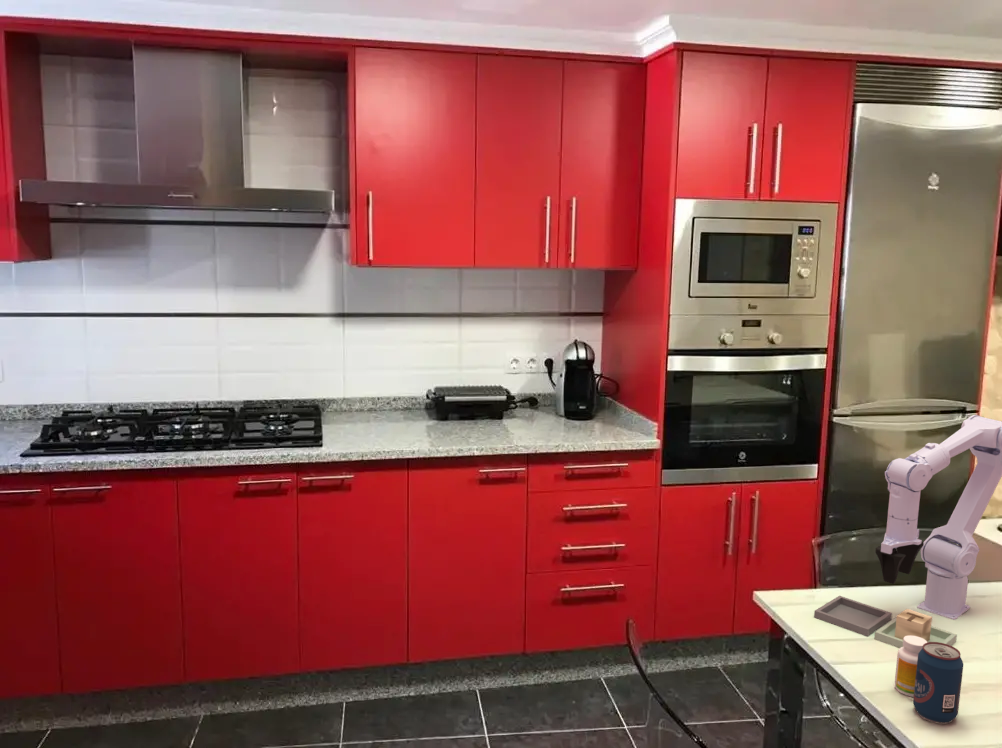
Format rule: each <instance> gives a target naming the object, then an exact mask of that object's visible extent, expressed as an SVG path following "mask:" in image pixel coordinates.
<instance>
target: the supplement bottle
mask: <svg viewBox="0 0 1002 748" xmlns="http://www.w3.org/2000/svg"><path fill="white" fill-rule="evenodd" d="M925 643H927V641H926V640H925V639H923V638H921V637H917V636H911V635H910V636H905V637H904V638H903V647H901V648H899V649H898V651H897V657H896V665H895V666H896V667H895V677H894V688H895V690H896V691H898V692H899V693H901V694H902V695H904V696H907V697H911V698H912V697H913V698H914V689H915V679H916V670H917V660H918V653H919V652H920V651H921V649H922V648H923V645H924V644H925Z"/></svg>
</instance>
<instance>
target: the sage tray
mask: <svg viewBox="0 0 1002 748" xmlns="http://www.w3.org/2000/svg"><path fill="white" fill-rule="evenodd" d="M896 619H897V616H895V617H894V618H892V619H891V620H890V621H889V622H887V623H886V624H885V625H883V626H882V627H880V628H879V629H878V630H876V631H875V632H874V637H873V638H874V640H875V641H879V642H881V643H885V644H888V645H890V646H892V647H896V648H899V649H900V648H901V647H903V640H902V639H899V638H896V637H895V629H896ZM957 636H958V634H956V633H954V632H950V631H947V630H945V629H941V628H938V627H936V626H933V625H931V632H930V640H929V641H928V642H939V643H944V644H948V645H950V646H952V647H953V645H954V644H956V642H957Z"/></svg>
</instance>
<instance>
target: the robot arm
mask: <svg viewBox="0 0 1002 748" xmlns="http://www.w3.org/2000/svg"><path fill="white" fill-rule="evenodd" d="M967 450H970V452H971V454H972V455H973V456H974V457H976V461H977V462H976V463H977V464H976V465H975V467H974V469H973V471H972V473H971V475H970V477H969V480H968V482H967V483H966V486H965V487H964V489H963V491H962V494H961V495H960V497H959V499H958V501H957V503H956V506H955V508H954V509H953V511H952V514H951V515H950V517H949V519H948V521H947V523H946V524H944V525H941V526H940V527H939V526H938V527H936V528H935V527H934V528H933V530H932V531H931V533H930V535H929V536H928V537H927V538H926V539H925V540H924V541H922V539H920V538H919V537H920V529H919V528H918V520H919V510H920V499H921V491H922V490H924V489H925V488H926V487H927V485H928V483H929V481H930V480H931V479H932V478H933V476H934V475H936V474H938V473H939V472H940V471H943V470H944V469H945V468H947V467H948V466H949V465H950V463H951V458H953V457H956V456H957V455H960V454H961V453H964V452H965V451H967ZM884 476H885V477H884V479H885V480H886V482H887V490H888V492H889V499H888V509H887V520H886V521H887V522H886V530H885V533H884V537H883V541H882V542H881V543H880V545H881V546H880V545H878V546H877V547H875V554H876V556H877V558H878V560H879V563H880V567H881V573H882V579H883V582H886V583H889V584H892V585H893V584H896V581H897V578H898V574H899V573H903V574H906V575H909V574H911V571H912V569H913V566H914V563H915V560H916V558H917V556H918V554H919V552H920V557H921V559H922V561H923V562H924V567H925V568H926V569H927V574H926V582H925V595H924V600H923V601H922V602H921V603H919V604H918V605H916V608H917V609H919V610H921V611H925V612H928V613H931V614H934V615H937V616H941V617H943V618H947V619H950V620H953V621H954V620H957V619H959V617H962V615H963V614H965V613H966V612H967V611H968V610H969V609H970V608H971V606H970V605H968V604H966V603H967V594H968V585H969V579H968V576H969V575H970V574H972V572H973V571H974V570H975V567H976V564H977V556H978V554H979V551H980V547H979V546H978V544H977V541H976V540H975V538H974V537H973V535H974V533H975V532H976V529H977V527H978V525H979V524H980V521H981V519H982V517H983V515H984V513H985V511H986V509H987V507H988V505H989V502H990V501H991V498H992V497H993V494H995V491H996V488H997V486H998V484H999V483H1000V480H1001V479H1002V420H997V419H993V418H988V417H985V416H981V415H979V414H973V415H970V416H969V417H968V418H967V419H964V420H963V422H962V423H961V427H960V429H958V430H956V431H955V432H954V433H953V434H951V435H950V436H949V437H947V438H946V439H945V440H944V441H942V442H940V443H936V442H928V443H926V444H925V445H924V446H923V447H922V448H920V449H919V450H917V451H914V453H911V454H909V456H907V457H904V458H901V457H899V458H895V459H893V460H891V462H889V464H888V466H887V467H886V471H884Z"/></svg>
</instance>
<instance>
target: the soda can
mask: <svg viewBox="0 0 1002 748" xmlns="http://www.w3.org/2000/svg"><path fill="white" fill-rule="evenodd" d="M963 672H964V661H963V659H962V656H961V652H960V650H959V649H957V648H956V647H955V646H953V645H952V646H950V645H948V644H944V643H939V642H927V643H925V644H924V645H923V648H922V649H921V651H920V652H919V653H918V660H917V670H916V679H915V689H914V697H913V700H912V701H913V702H912V704H913V707H914V708H915V710H916V712H917V714H918V715H919V716H920V717H921V718H923V719H924V720H926V721H929V722H932V723H936V724H949V723H951V722H952V721H954V720H955V719H956V718H957V717H958V714H959V707H960V698H961V689H962V683H963V682H962V680H963Z"/></svg>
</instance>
